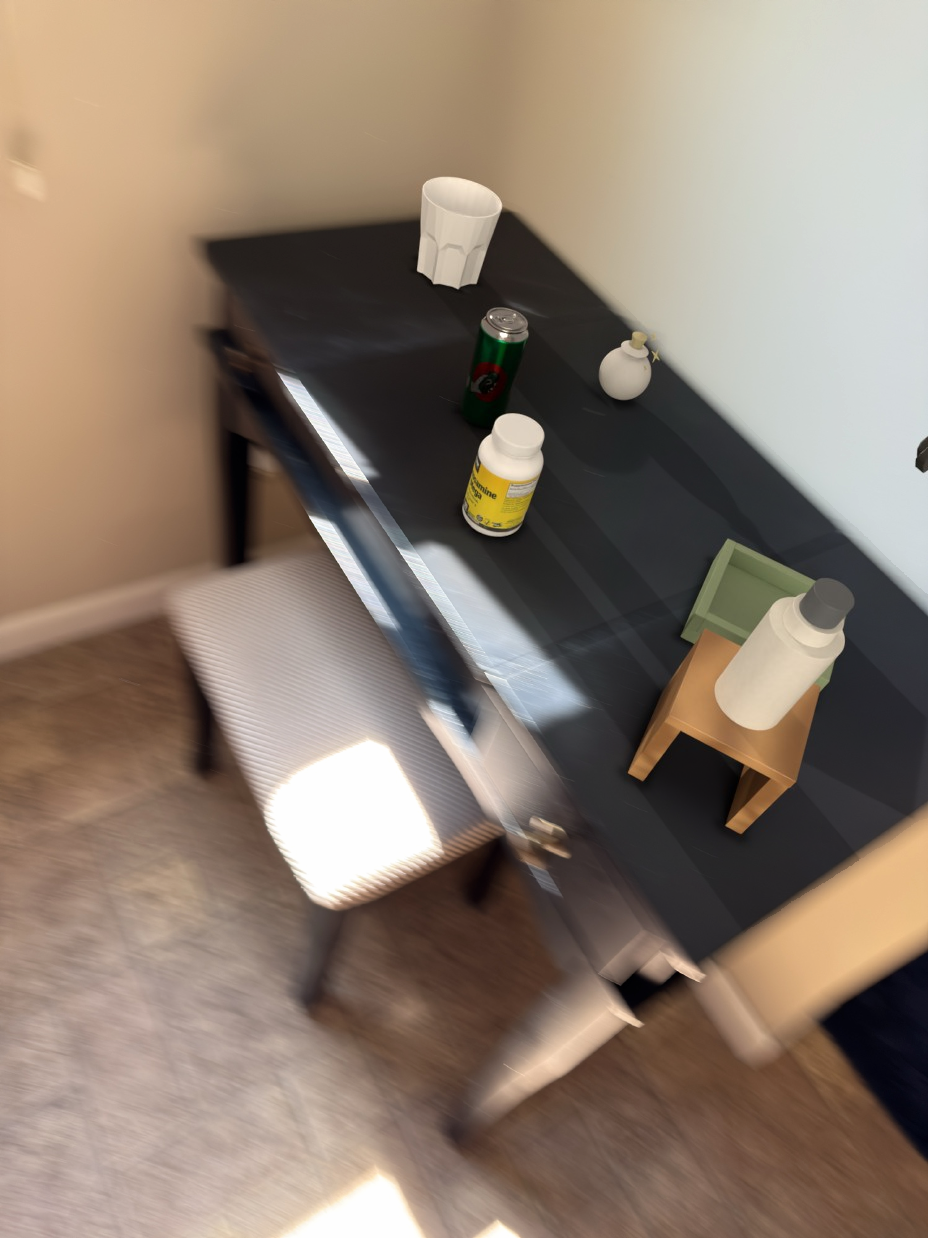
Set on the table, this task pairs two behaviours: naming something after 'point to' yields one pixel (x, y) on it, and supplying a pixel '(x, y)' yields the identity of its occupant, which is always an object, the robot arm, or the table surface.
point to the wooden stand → (727, 731)
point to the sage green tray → (743, 596)
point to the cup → (455, 229)
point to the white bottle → (784, 655)
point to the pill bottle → (504, 476)
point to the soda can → (494, 366)
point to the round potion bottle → (627, 368)
